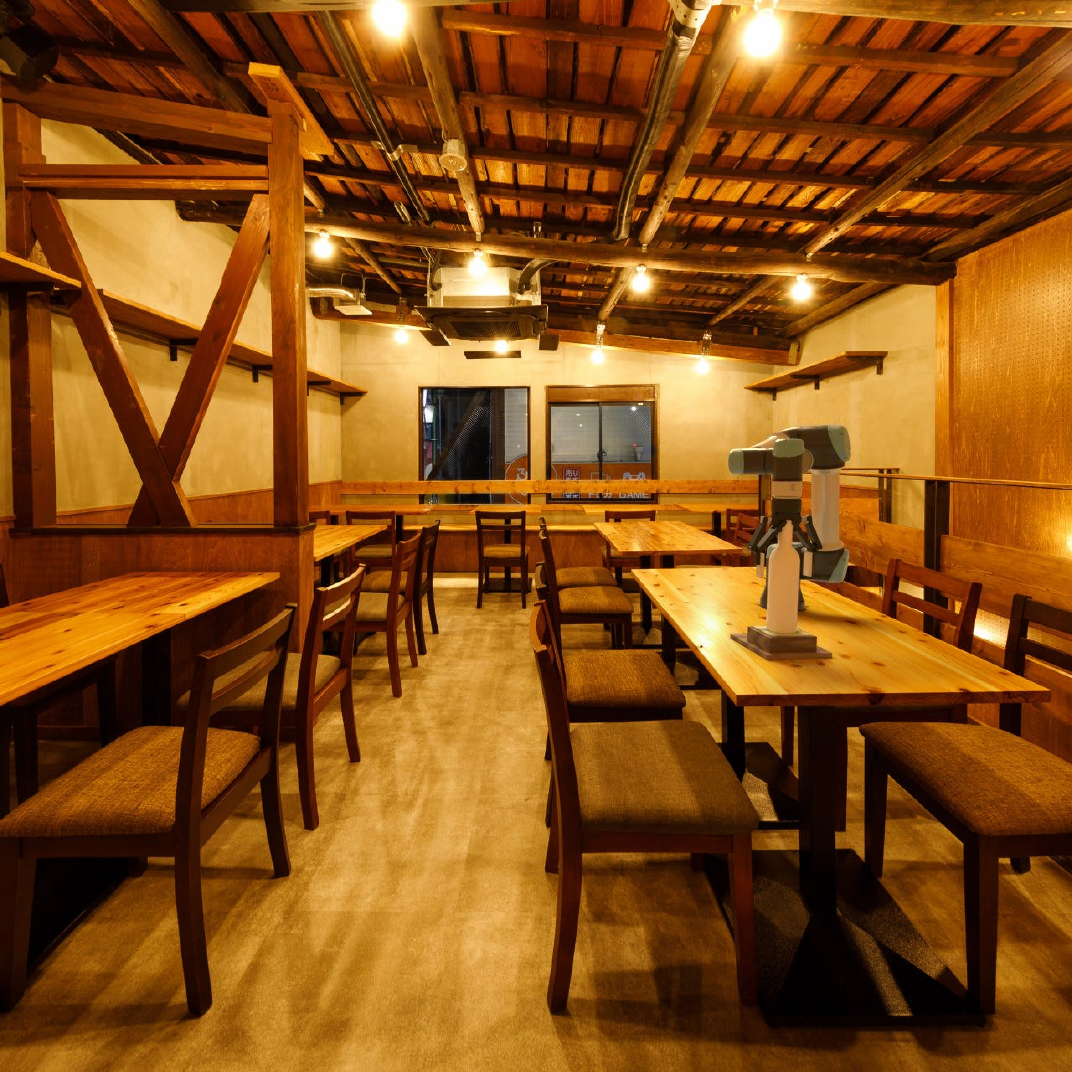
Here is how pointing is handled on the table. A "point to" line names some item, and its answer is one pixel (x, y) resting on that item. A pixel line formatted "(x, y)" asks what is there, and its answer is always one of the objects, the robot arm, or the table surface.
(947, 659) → the table surface
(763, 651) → the stand
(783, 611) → the bottle
